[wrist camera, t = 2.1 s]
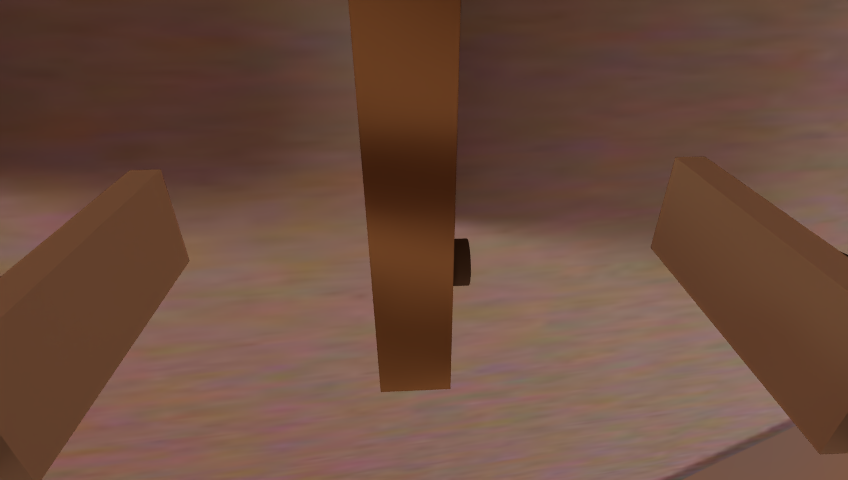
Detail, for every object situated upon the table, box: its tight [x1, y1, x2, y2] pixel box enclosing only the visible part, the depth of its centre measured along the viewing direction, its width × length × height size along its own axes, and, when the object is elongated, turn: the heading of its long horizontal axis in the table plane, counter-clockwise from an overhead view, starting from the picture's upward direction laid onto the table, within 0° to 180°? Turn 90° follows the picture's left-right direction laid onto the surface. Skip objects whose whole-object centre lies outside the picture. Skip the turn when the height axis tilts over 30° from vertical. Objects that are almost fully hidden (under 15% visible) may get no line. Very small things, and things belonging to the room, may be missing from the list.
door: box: [348, 0, 471, 392], centre depth 22 cm, size 21×4×16 cm, turn 1°
